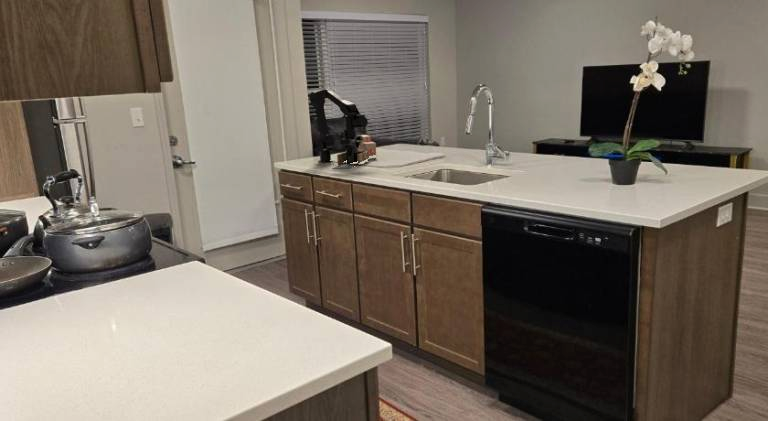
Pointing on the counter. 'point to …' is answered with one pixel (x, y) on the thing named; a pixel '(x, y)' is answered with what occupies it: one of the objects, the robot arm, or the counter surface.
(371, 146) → the stack of blocks
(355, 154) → the supplement bottle
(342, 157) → the open box
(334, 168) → the mat
